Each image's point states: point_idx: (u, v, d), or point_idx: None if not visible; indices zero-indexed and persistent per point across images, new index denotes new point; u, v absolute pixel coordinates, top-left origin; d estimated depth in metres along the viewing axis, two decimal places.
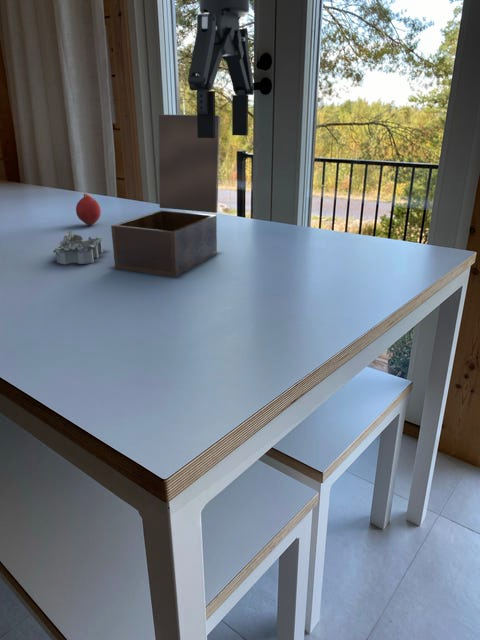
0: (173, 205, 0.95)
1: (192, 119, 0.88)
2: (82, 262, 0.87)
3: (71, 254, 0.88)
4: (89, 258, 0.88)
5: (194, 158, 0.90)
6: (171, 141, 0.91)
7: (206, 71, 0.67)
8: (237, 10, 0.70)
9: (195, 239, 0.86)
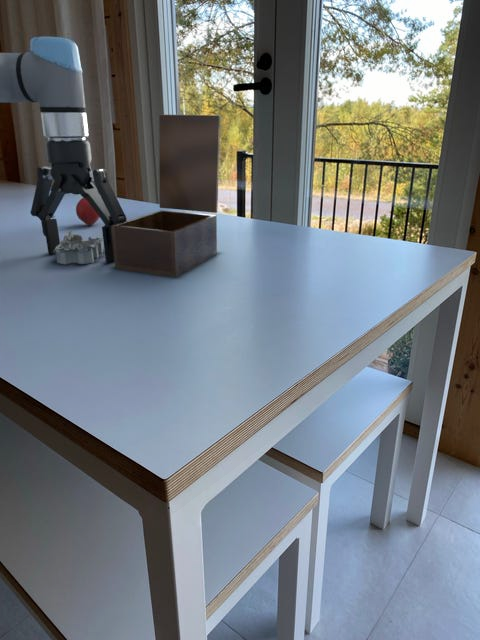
0: (173, 205, 0.95)
1: (192, 119, 0.88)
2: (82, 262, 0.87)
3: (71, 254, 0.88)
4: (89, 258, 0.88)
5: (194, 158, 0.90)
6: (171, 141, 0.91)
7: None
8: None
9: (195, 239, 0.86)
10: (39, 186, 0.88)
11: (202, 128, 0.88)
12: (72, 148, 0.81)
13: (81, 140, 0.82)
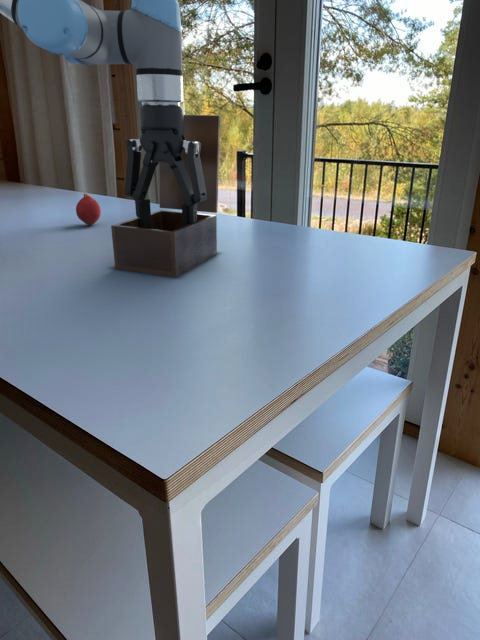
0: (173, 205, 0.95)
1: (192, 119, 0.88)
2: None
3: None
4: None
5: None
6: None
7: None
8: None
9: (195, 239, 0.86)
10: (130, 160, 0.84)
11: (202, 128, 0.88)
12: (169, 113, 0.77)
13: (177, 105, 0.79)
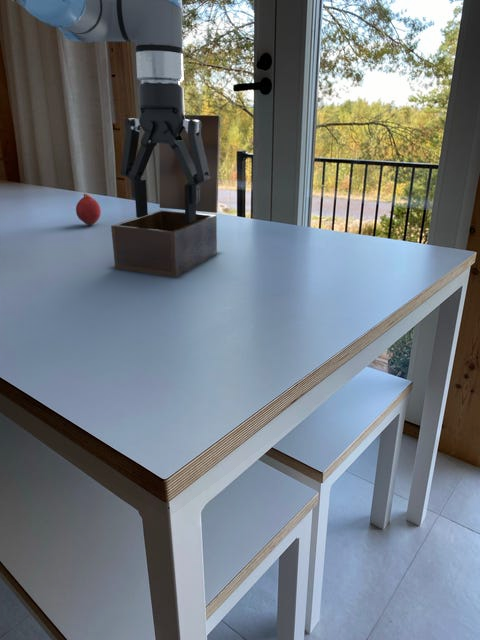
0: (173, 205, 0.95)
1: (192, 119, 0.88)
2: None
3: None
4: None
5: None
6: None
7: None
8: None
9: (195, 239, 0.86)
10: (128, 140, 0.83)
11: (202, 128, 0.88)
12: (169, 91, 0.76)
13: (177, 84, 0.77)
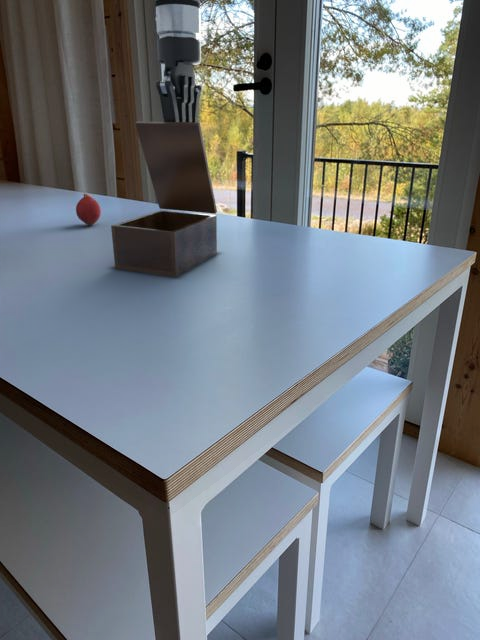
0: (172, 207, 0.95)
1: (171, 128, 0.82)
2: None
3: None
4: None
5: (183, 165, 0.87)
6: (155, 149, 0.86)
7: None
8: None
9: (195, 239, 0.86)
10: (174, 102, 0.81)
11: (184, 137, 0.82)
12: None
13: None
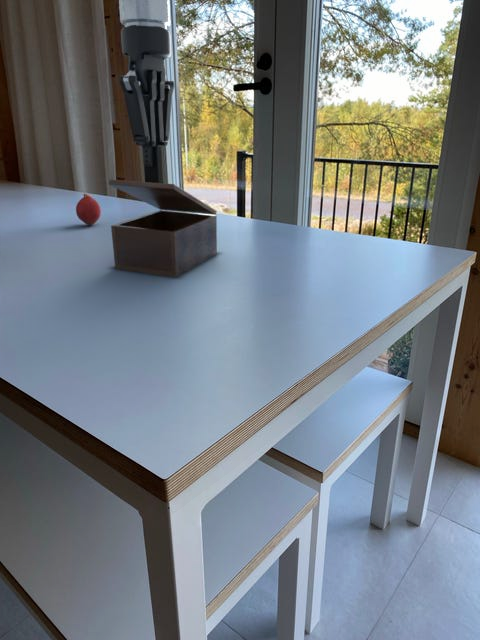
0: (172, 210, 0.95)
1: (147, 188, 0.78)
2: None
3: None
4: None
5: (170, 199, 0.85)
6: (137, 193, 0.84)
7: None
8: None
9: (195, 239, 0.86)
10: (141, 99, 0.72)
11: (163, 192, 0.79)
12: None
13: None
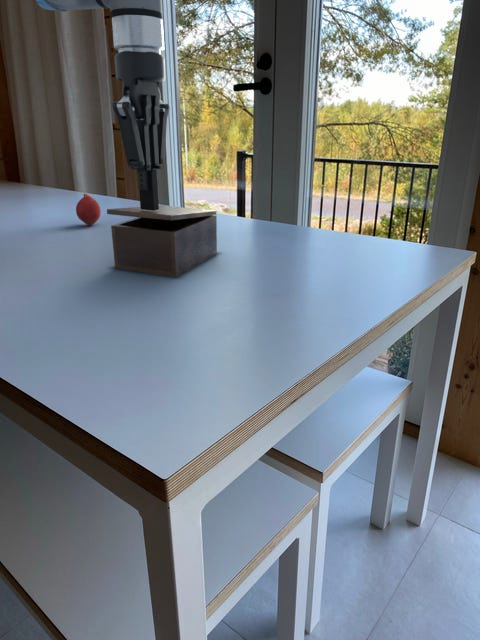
0: None
1: None
2: None
3: None
4: None
5: None
6: None
7: None
8: None
9: (195, 239, 0.86)
10: (135, 125, 0.72)
11: None
12: None
13: None
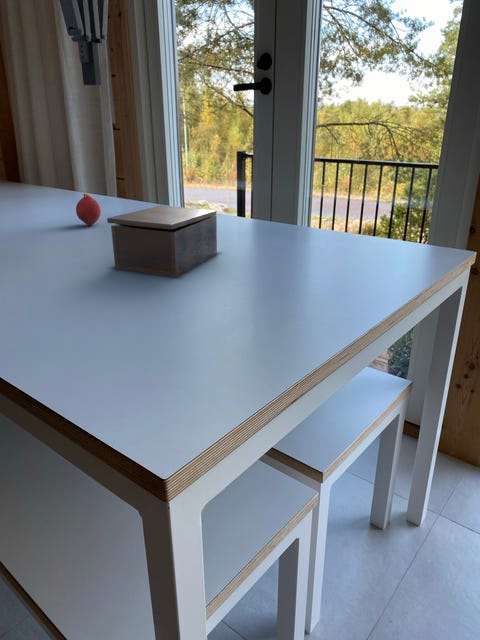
0: None
1: None
2: None
3: None
4: None
5: None
6: None
7: None
8: None
9: (195, 239, 0.86)
10: None
11: None
12: None
13: None
